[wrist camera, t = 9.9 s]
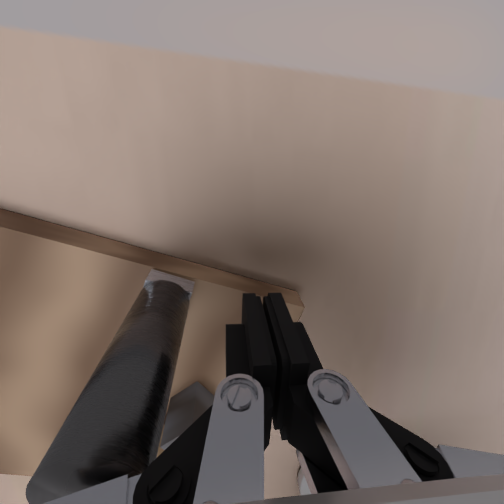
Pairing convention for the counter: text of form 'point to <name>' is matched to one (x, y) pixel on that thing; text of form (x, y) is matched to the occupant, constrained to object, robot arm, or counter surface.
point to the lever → (120, 398)
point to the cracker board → (96, 328)
